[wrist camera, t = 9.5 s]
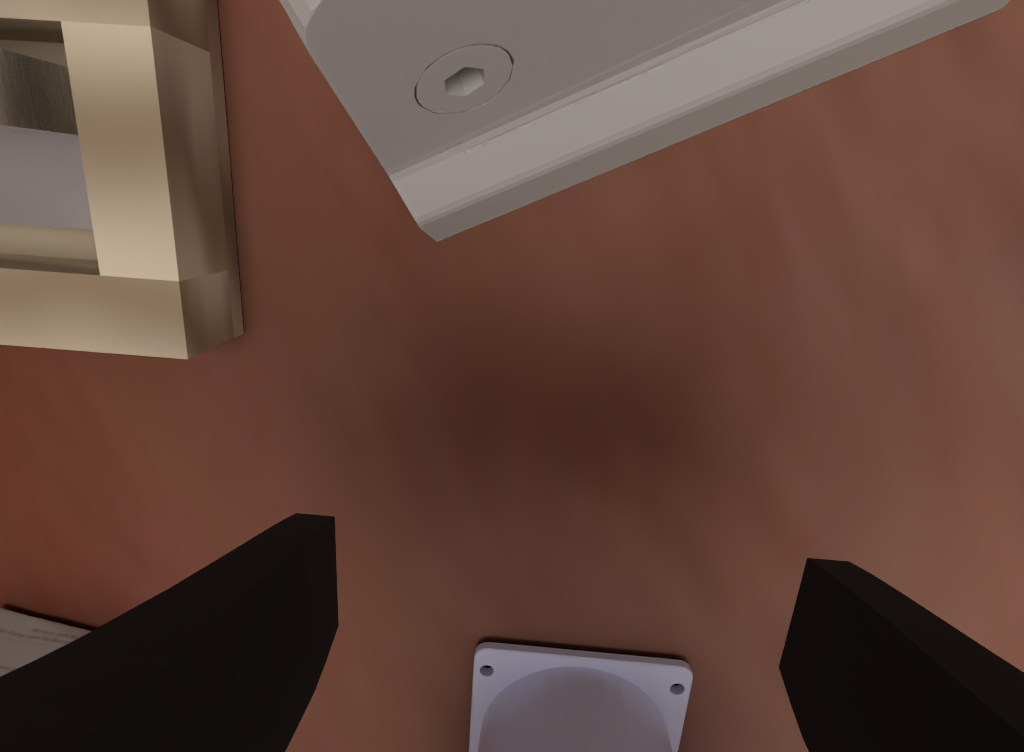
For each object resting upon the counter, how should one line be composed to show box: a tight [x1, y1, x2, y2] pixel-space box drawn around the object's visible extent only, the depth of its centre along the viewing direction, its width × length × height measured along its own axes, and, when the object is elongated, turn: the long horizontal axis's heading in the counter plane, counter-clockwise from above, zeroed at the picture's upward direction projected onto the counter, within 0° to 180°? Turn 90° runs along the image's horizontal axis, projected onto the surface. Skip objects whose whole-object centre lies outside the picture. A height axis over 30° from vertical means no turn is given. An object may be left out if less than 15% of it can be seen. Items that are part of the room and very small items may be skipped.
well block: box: [0, 0, 244, 359], centre depth 15 cm, size 10×10×3 cm
